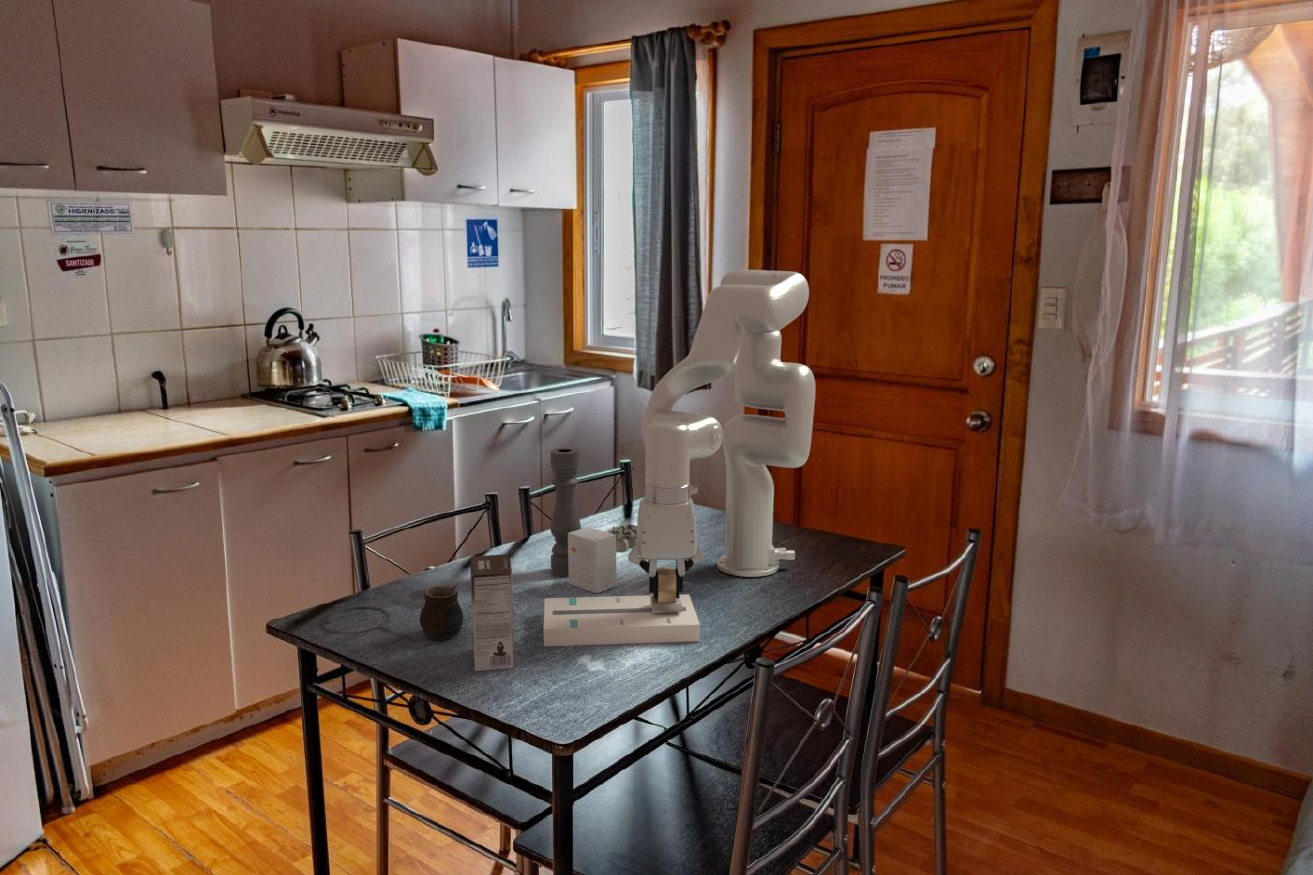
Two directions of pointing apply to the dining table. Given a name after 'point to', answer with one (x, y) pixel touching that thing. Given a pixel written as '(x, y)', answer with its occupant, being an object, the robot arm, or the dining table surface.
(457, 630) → the mate gourd
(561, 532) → the candle holder
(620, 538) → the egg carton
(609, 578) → the small box
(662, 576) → the fader
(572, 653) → the dining table surface
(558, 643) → the console
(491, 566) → the coffee box
